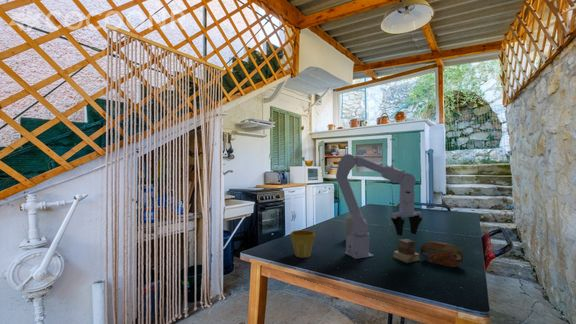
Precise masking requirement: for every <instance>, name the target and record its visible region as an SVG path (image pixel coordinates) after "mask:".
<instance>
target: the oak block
mask: <svg viewBox="0 0 576 324" xmlns="http://www.w3.org/2000/svg"><path fill="white" fill-rule="evenodd" d="M393 258H394V259H396V260H398V261H402V262H404V263H406V264H408V263H413V262H417V261H420V253H418V252H415V254H409V255H406V254H403V253H401V252H398V250H393Z"/></svg>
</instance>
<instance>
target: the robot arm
mask: <svg viewBox="0 0 576 324" xmlns="http://www.w3.org/2000/svg"><path fill="white" fill-rule="evenodd" d="M337 164H338V165H337V170H336V173H335V179H336V181H337V184H338V186H339V188H340V190H341V193H342V197H343V199H344V201H345V204H346V207H347V209H348V212H349V214H350V217H351V218H352V221H353V230H354V231H353V232H352V234H351V235H349V236H347V238H346V239H345V252H344V253H345V255H348V256H350V257H351V258H353V259H355V260H357V259H363V258H370V257H371V258H372V257H374V255H375V254H372V253H370V232H369V223H368V220H367V219H366V218H365V217H364V216H363V213H362V211H361V209H360V205H359V204H358V202H357V199H356V197H355V193H354V191H353V188H352V187H351V183H350V181H349V178H348V177H349V174H350V172H351V171H352V169H354V167H356V168H359V167H360V168H361V167H362V168H363V167H364V168H366V169H368V170H371V171H374V172H377V173H379V174H381V177H382V178H383V179H386V180H387V181H389V182H393V183H395V184H399V195H398V196H399V204H398V206H399V207H398V209H399V211H396V212H391V217H390V218H391V221H392V223H393V225H394V228H395V231H396V235H397V236H401V237H402V236H403V230H404V229H403V228H404V223H405V221H406V220H405V219H403V218H408V221H409V226H410V233H411V234H413V235H416V234H417V232H418V228H419V226H420V224H421V222H422V221H423V217H422V214H423V213H422V211H419V210H415V185H416V183H417V180H416V178H415V176H414V174H411V173H408V172H406V170H404V169H403V170H401V169H398V168H396V167H395V166H394V165H392V164H391V165H388V164H387V165H385V166H383V165H380V164H378V163H375V162H373V161H371V160H369V159H368V158H367V159H366V158H364V157H361V156H357V155H352V154H350V153H346V154H344V155H343V156H342V157H341V158H340V159H339V161H338V163H337Z"/></svg>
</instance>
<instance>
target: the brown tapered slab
mask: <svg viewBox="0 0 576 324" xmlns="http://www.w3.org/2000/svg"><path fill="white" fill-rule="evenodd" d="M419 249H420V250H419V251H420V254H421V257H422V258H423V259H424V260H425V261H426V262H428V263H430V264H435V265H440V266H445V267H449V268H457V267H459V266H461V265H462V264H463V261H464V258H465V257H464V253H463V251H462V249H461V248H459V246H457V245H455V244H452V243H446V242H440V241H431V240H429V241H425V242H424V243H422V244H421V246H420V248H419Z"/></svg>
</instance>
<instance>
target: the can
mask: <svg viewBox="0 0 576 324" xmlns="http://www.w3.org/2000/svg"><path fill="white" fill-rule="evenodd" d="M344 223H345V225H344V226H345V228H344V229H345V234H344V238H345V240H346V238H347V236H349V235H351V234H352V232H353V231H354V230H353V221H352V218H351V216H347V217H346V219H345V222H344Z"/></svg>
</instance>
